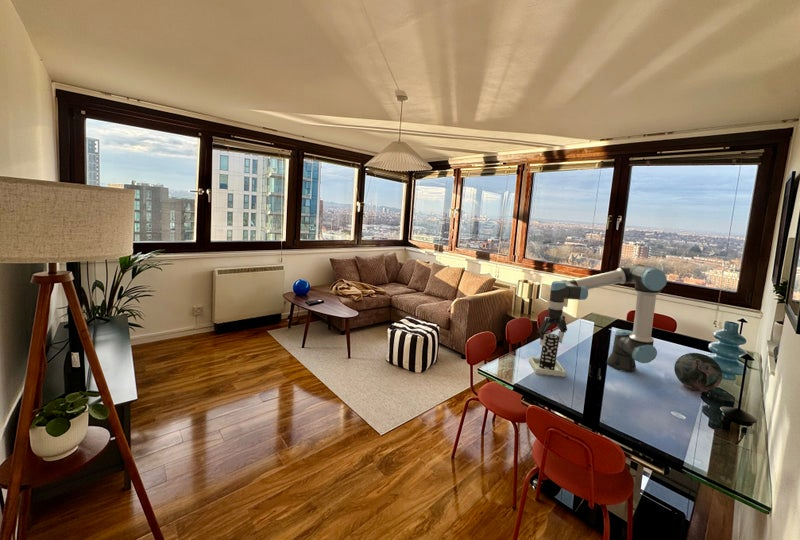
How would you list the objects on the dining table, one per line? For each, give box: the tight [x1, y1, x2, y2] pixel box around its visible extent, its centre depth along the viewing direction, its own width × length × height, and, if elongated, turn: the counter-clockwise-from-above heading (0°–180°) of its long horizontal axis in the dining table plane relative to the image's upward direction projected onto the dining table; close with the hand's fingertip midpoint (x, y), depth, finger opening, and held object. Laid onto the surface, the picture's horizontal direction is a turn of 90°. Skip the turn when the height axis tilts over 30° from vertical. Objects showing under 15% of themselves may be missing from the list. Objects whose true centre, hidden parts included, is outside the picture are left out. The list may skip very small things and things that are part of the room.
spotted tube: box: [539, 332, 560, 370], centre depth 202 cm, size 8×8×20 cm
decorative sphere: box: [673, 352, 723, 392], centre depth 191 cm, size 20×20×20 cm
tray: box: [528, 356, 567, 378], centre depth 203 cm, size 16×16×3 cm
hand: (551, 343), depth 201 cm, fingers open, 13 cm apart
